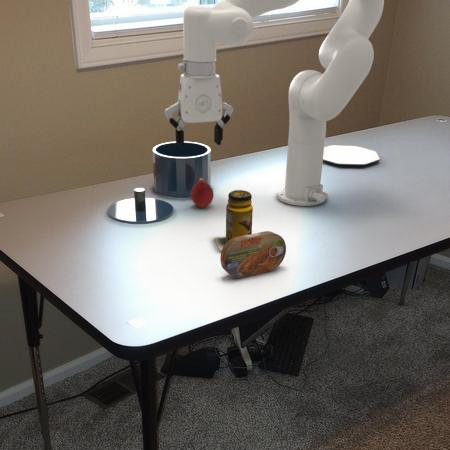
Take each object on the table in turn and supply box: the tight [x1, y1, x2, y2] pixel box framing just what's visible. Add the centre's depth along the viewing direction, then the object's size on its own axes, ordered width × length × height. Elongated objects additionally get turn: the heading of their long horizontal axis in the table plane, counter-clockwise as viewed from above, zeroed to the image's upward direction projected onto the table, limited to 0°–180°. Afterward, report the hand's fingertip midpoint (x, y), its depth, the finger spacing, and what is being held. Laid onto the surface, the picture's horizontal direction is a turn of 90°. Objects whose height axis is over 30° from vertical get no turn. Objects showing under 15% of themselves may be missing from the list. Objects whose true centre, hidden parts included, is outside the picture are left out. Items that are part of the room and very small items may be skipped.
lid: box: [107, 187, 175, 225], centre depth 165 cm, size 17×17×6 cm
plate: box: [323, 145, 381, 166], centre depth 208 cm, size 20×20×2 cm
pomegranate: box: [190, 178, 214, 209], centre depth 168 cm, size 6×6×8 cm
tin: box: [219, 230, 287, 279], centre depth 138 cm, size 15×3×8 cm, turn 117°
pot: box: [152, 141, 212, 199], centre depth 179 cm, size 16×16×11 cm
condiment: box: [213, 189, 254, 252], centre depth 149 cm, size 7×8×12 cm
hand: (199, 145), depth 161 cm, fingers open, 9 cm apart
